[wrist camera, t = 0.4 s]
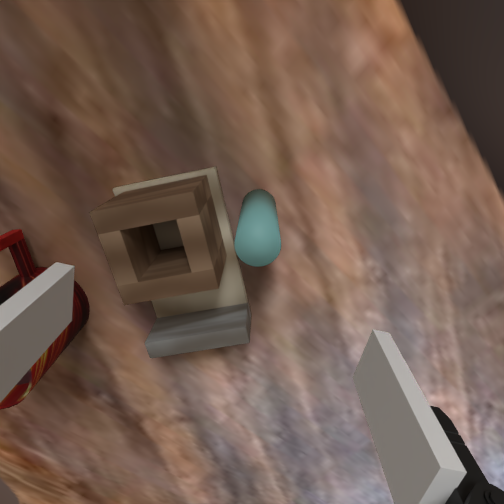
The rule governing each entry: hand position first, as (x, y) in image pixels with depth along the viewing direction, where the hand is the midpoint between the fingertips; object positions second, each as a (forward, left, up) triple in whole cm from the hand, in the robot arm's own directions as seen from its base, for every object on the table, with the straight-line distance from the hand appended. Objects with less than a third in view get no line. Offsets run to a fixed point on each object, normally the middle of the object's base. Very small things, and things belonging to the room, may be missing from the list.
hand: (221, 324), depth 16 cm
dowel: (+1, +1, -25) cm, 25 cm away
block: (+1, -8, -24) cm, 25 cm away
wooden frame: (+5, -8, -25) cm, 26 cm away
